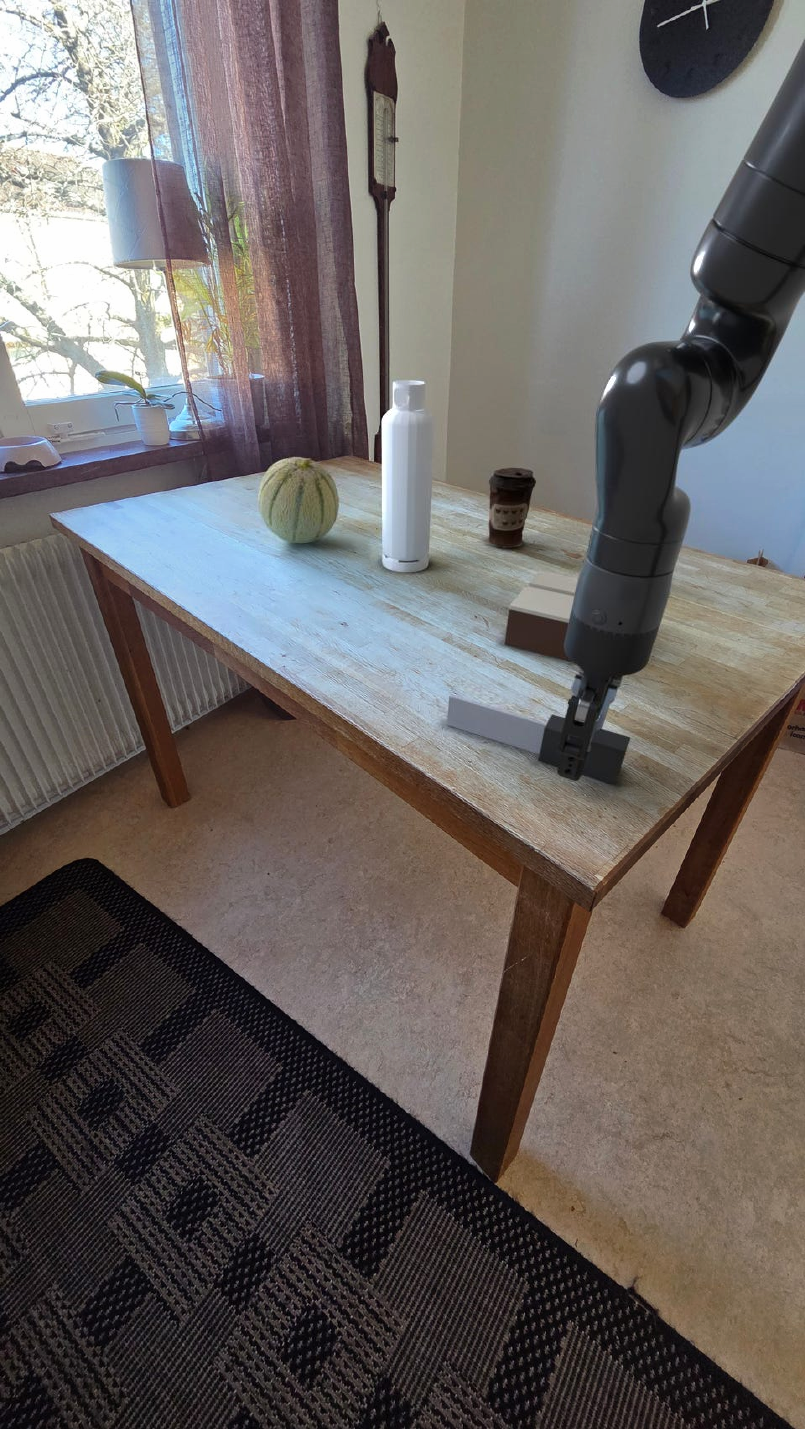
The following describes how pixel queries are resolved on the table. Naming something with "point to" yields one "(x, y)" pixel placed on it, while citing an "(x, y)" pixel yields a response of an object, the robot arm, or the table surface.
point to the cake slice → (554, 583)
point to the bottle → (407, 478)
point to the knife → (538, 736)
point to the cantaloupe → (298, 500)
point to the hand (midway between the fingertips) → (579, 751)
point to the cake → (539, 622)
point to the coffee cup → (509, 505)
